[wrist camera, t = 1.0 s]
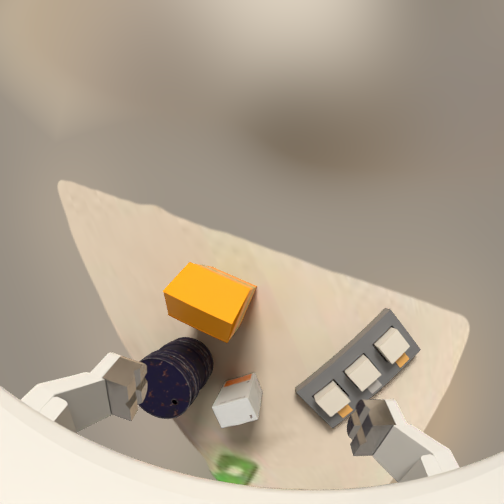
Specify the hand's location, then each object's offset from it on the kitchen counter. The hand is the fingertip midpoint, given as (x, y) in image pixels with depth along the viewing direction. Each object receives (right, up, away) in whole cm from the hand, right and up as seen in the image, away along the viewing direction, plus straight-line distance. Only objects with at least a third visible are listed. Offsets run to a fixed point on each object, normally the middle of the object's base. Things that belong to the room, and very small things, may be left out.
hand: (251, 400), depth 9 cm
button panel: (+20, -16, +38) cm, 46 cm away
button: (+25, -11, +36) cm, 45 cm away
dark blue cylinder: (-12, -15, +40) cm, 45 cm away
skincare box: (-2, -19, +39) cm, 44 cm away
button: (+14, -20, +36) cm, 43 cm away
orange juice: (-5, -2, +41) cm, 41 cm away
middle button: (+19, -16, +36) cm, 43 cm away
